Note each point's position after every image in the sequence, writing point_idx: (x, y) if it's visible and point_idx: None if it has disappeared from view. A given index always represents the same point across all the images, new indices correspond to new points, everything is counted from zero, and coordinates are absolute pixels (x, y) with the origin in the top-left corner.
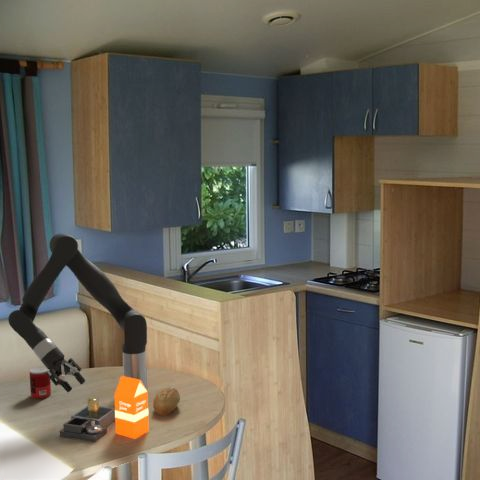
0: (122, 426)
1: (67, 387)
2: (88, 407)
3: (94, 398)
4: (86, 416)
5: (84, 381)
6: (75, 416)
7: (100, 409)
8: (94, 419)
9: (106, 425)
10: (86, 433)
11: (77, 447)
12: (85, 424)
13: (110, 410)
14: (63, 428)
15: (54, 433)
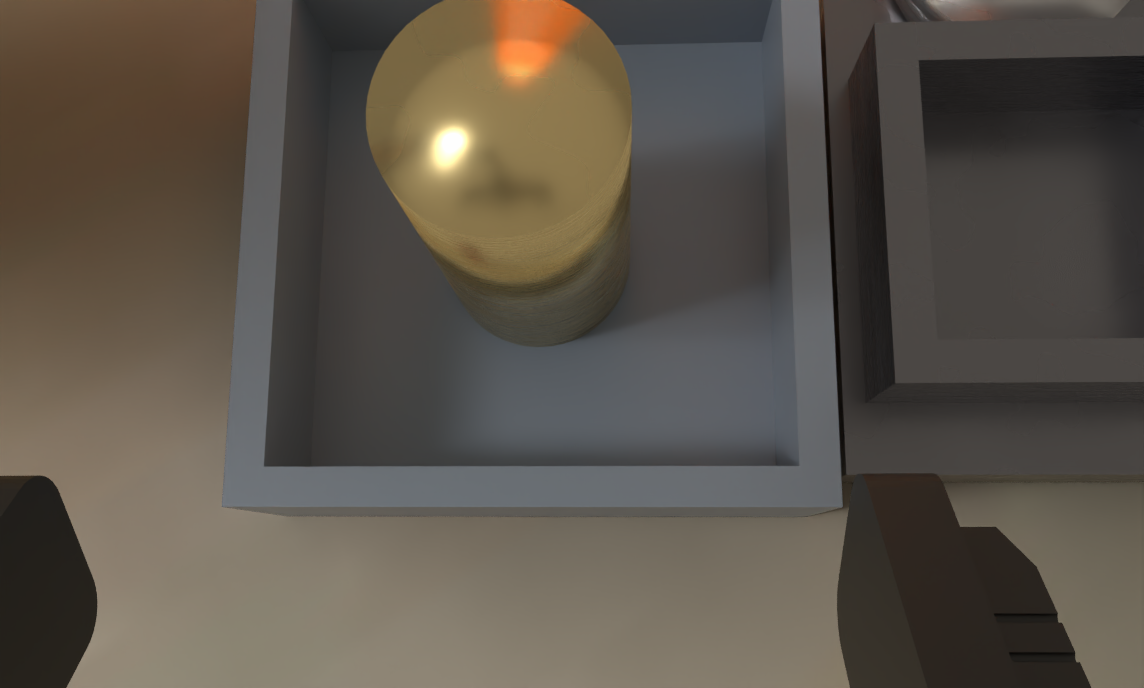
0: None
1: (1038, 595)
2: (619, 219)
3: (454, 96)
4: (443, 458)
5: (29, 479)
6: (822, 419)
7: (290, 240)
8: (813, 25)
9: None
10: (1134, 10)
11: None
12: (1098, 22)
13: (299, 46)
14: (1134, 470)
15: (1137, 639)
